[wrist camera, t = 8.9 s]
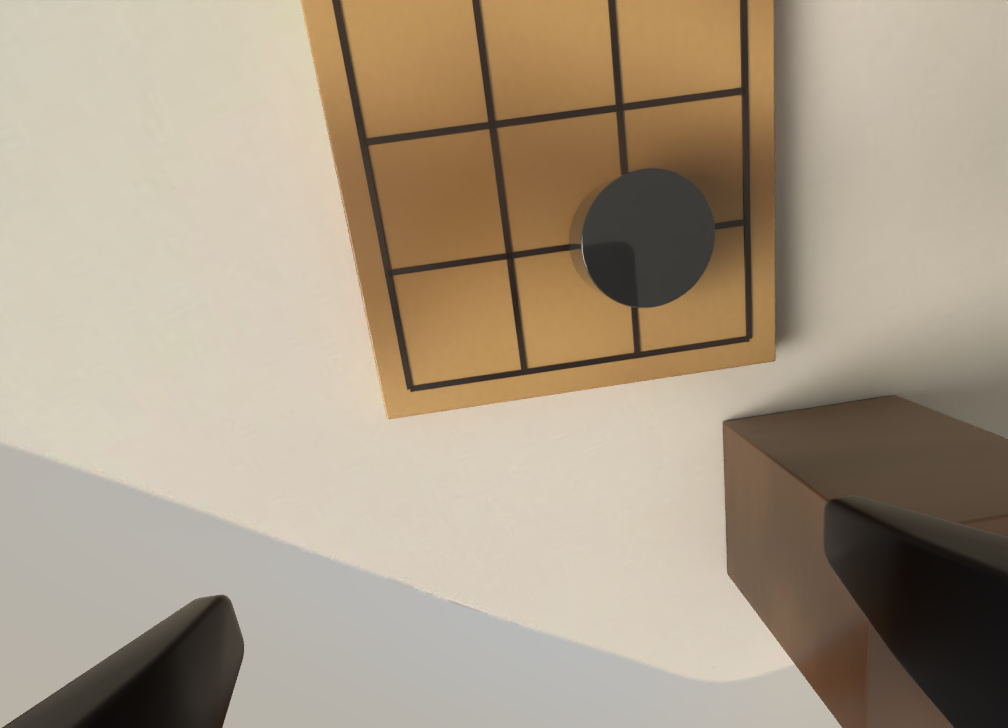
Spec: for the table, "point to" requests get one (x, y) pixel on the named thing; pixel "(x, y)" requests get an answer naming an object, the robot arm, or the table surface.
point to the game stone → (642, 237)
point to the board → (543, 184)
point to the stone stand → (799, 532)
